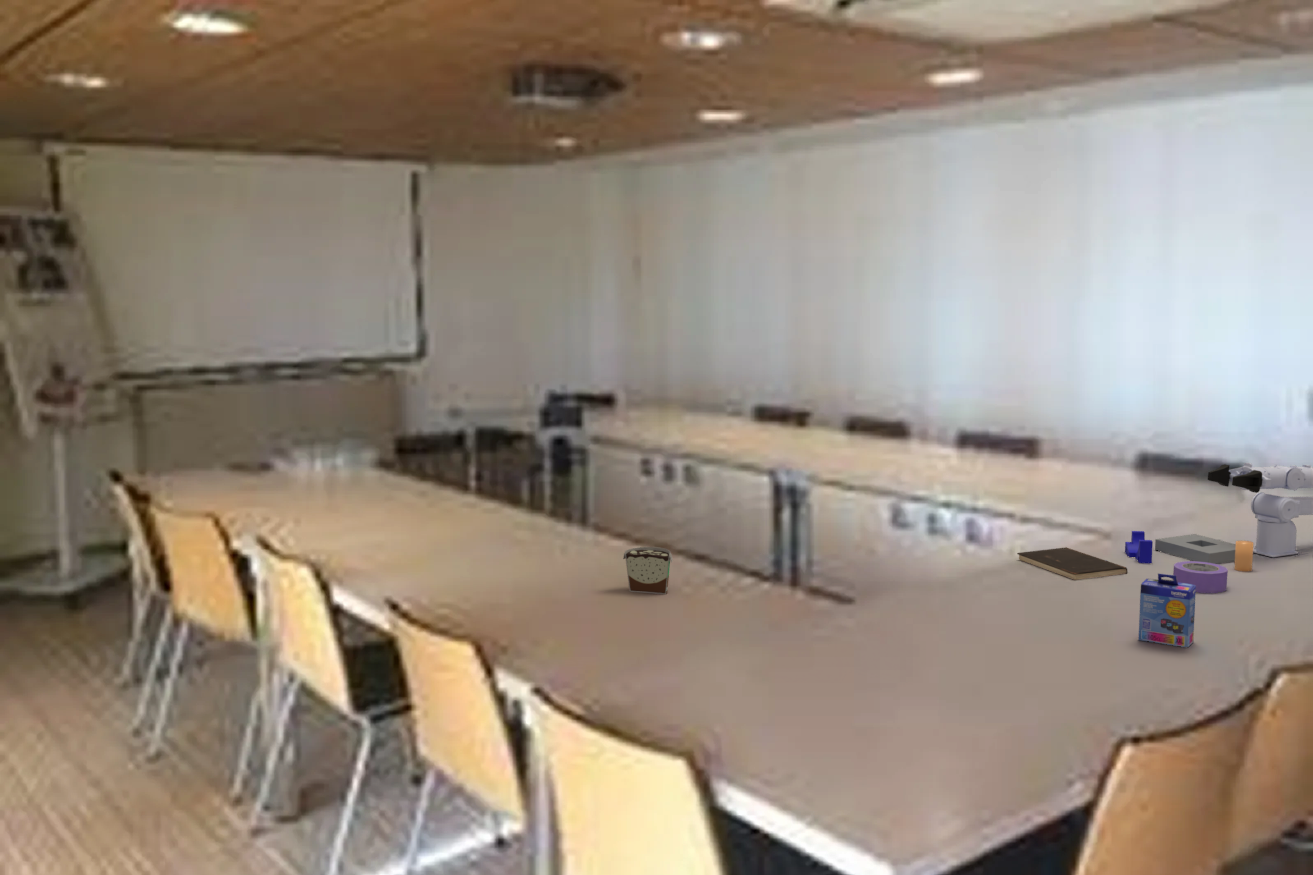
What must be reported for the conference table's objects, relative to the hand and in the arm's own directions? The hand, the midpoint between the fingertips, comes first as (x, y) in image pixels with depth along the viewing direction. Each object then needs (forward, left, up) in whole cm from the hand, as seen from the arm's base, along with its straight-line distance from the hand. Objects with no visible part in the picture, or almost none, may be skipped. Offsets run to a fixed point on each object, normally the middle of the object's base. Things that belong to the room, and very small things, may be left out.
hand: (1221, 478), depth 312 cm
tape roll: (+23, +16, -22) cm, 36 cm away
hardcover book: (+37, -13, -22) cm, 45 cm away
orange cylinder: (+1, +9, -22) cm, 23 cm away
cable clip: (+15, -12, -22) cm, 29 cm away
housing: (-2, -7, -22) cm, 23 cm away
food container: (+141, -40, -22) cm, 148 cm away
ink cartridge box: (+62, +44, -22) cm, 79 cm away
